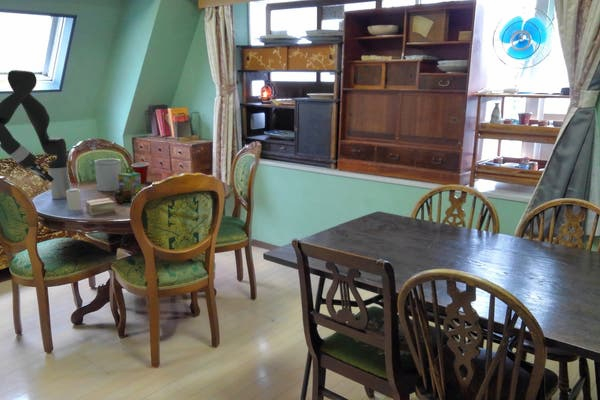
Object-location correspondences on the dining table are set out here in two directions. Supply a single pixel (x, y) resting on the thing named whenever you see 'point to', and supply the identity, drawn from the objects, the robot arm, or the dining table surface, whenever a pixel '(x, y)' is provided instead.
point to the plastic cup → (141, 170)
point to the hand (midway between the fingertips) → (49, 180)
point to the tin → (74, 199)
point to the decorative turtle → (123, 195)
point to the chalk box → (130, 181)
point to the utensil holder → (107, 173)
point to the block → (100, 206)
